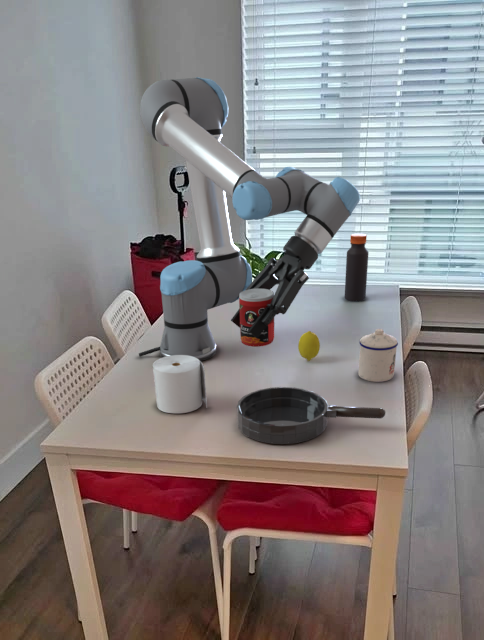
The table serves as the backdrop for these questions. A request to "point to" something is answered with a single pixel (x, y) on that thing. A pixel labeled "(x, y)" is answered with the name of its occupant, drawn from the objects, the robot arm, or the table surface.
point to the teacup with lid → (377, 356)
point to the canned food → (255, 316)
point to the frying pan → (282, 415)
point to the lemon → (309, 345)
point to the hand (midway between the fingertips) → (243, 329)
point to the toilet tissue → (179, 383)
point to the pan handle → (354, 412)
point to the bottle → (356, 269)
